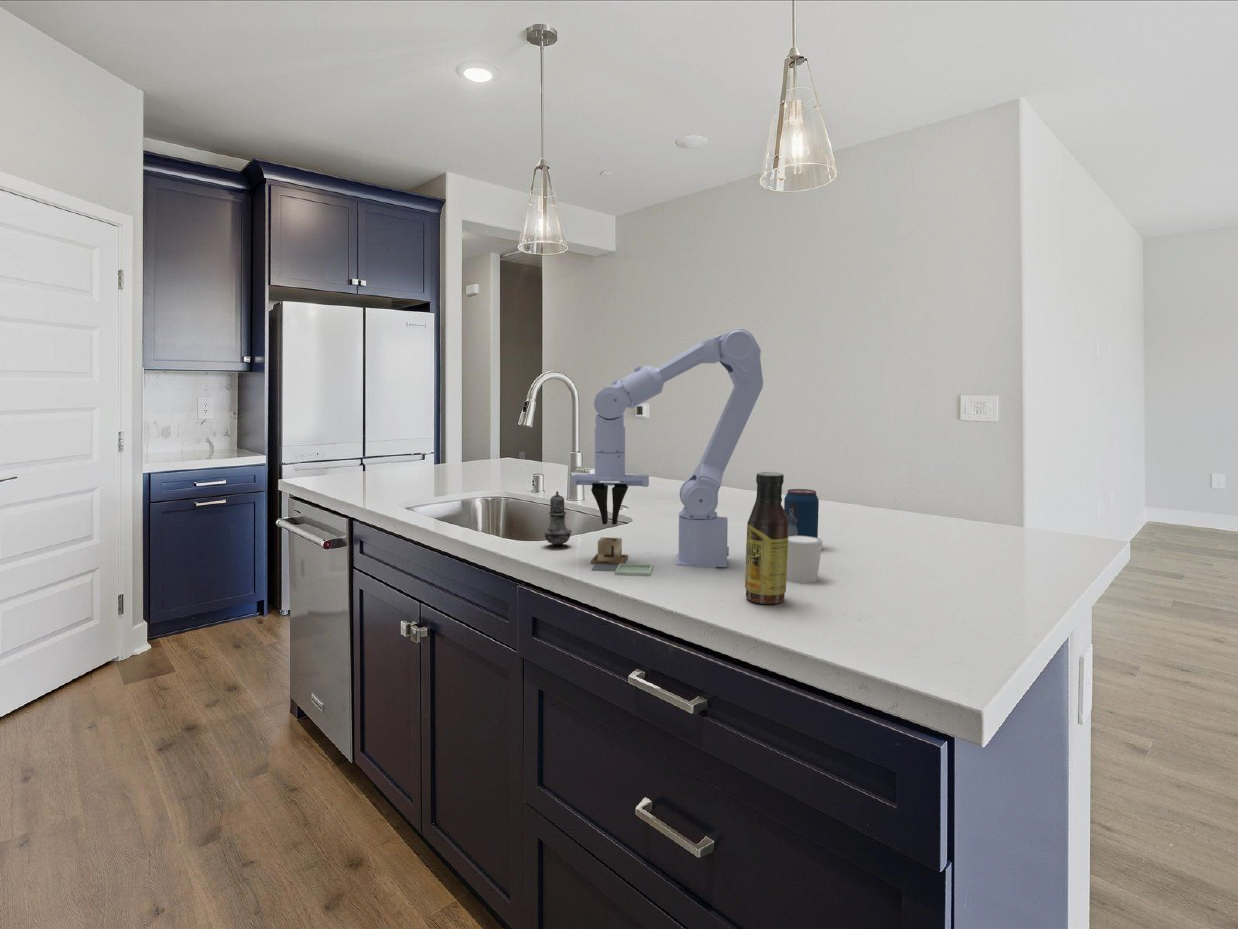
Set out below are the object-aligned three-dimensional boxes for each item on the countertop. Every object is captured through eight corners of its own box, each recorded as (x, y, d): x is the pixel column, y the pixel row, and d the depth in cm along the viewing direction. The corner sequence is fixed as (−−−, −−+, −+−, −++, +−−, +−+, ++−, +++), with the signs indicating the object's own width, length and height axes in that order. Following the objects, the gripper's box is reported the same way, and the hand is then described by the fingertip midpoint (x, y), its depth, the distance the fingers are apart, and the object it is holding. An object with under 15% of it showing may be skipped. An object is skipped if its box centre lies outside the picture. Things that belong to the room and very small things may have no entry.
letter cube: (621, 558, 131) (621, 537, 131) (618, 563, 127) (618, 542, 127) (601, 557, 132) (601, 537, 131) (597, 562, 128) (597, 541, 127)
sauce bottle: (740, 594, 108) (742, 470, 106) (778, 593, 109) (781, 470, 107) (751, 607, 102) (754, 475, 100) (792, 606, 102) (795, 475, 100)
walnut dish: (628, 558, 132) (628, 554, 132) (623, 566, 126) (623, 562, 126) (596, 557, 133) (596, 553, 133) (590, 565, 127) (590, 561, 127)
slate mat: (618, 566, 126) (618, 564, 126) (615, 572, 122) (615, 570, 122) (595, 566, 127) (595, 563, 127) (591, 572, 122) (591, 569, 122)
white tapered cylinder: (799, 585, 114) (800, 544, 113) (771, 576, 120) (772, 537, 119) (829, 580, 117) (831, 540, 116) (801, 571, 123) (802, 533, 122)
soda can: (817, 545, 145) (819, 489, 144) (817, 552, 138) (819, 493, 137) (783, 543, 147) (785, 488, 146) (782, 550, 140) (783, 492, 139)
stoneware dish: (653, 568, 125) (653, 564, 124) (650, 577, 118) (650, 573, 118) (619, 567, 125) (619, 563, 125) (614, 576, 119) (614, 571, 119)
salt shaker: (567, 552, 138) (567, 493, 137) (539, 550, 139) (539, 492, 138) (575, 546, 144) (574, 489, 143) (548, 544, 145) (547, 488, 144)
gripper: (567, 453, 125) (567, 526, 126) (646, 454, 123) (646, 528, 124) (575, 450, 132) (575, 519, 133) (650, 451, 130) (649, 521, 131)
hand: (609, 523), depth 129 cm, fingers closed
